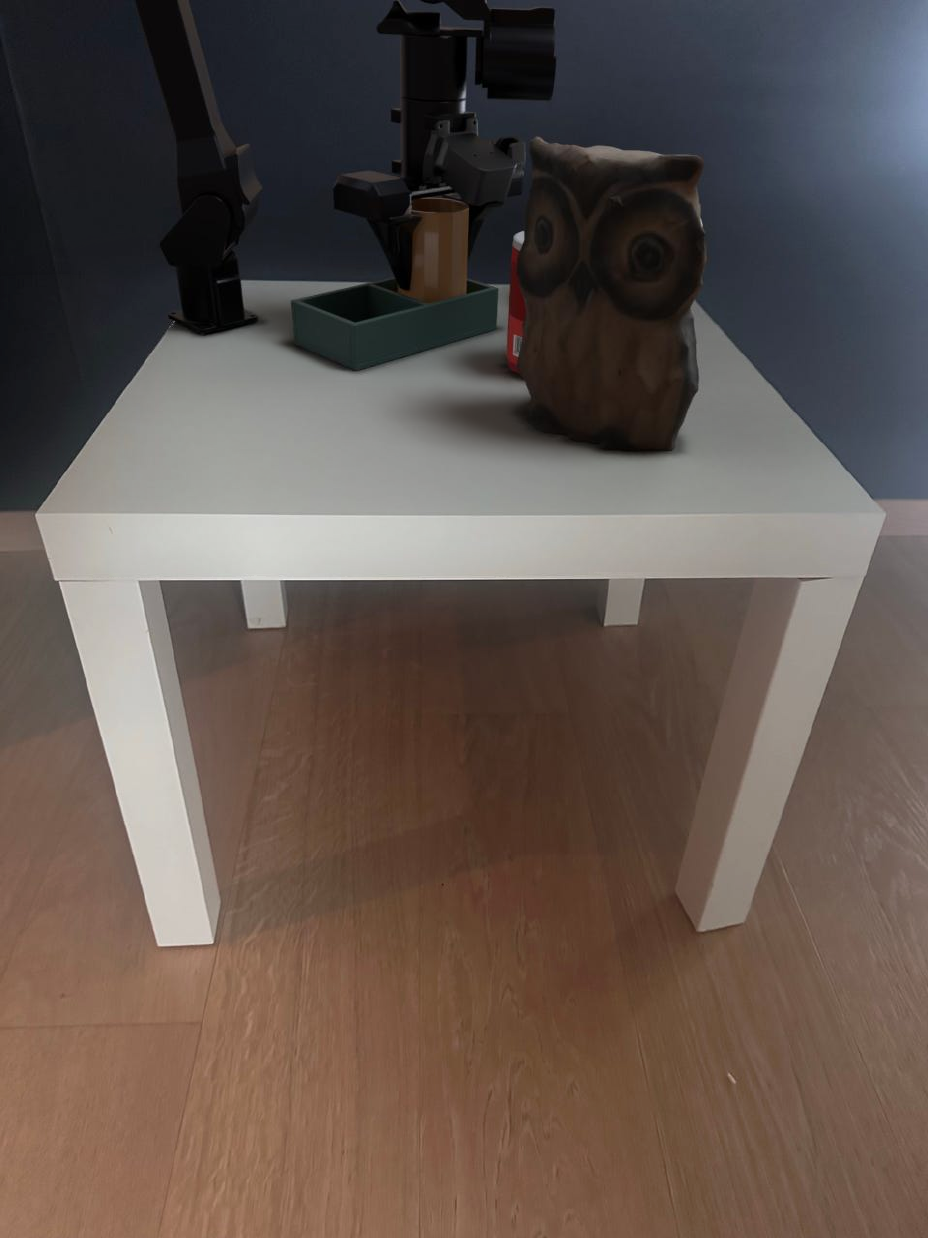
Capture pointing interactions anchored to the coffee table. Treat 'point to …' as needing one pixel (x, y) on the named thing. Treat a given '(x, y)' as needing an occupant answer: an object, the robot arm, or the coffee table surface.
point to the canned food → (515, 307)
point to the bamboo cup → (439, 250)
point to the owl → (610, 293)
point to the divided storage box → (388, 321)
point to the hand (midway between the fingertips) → (431, 282)
